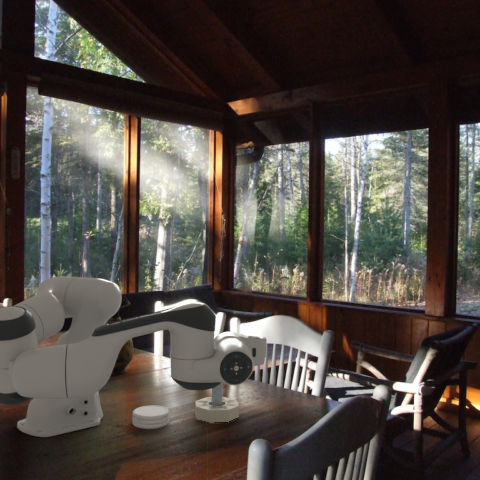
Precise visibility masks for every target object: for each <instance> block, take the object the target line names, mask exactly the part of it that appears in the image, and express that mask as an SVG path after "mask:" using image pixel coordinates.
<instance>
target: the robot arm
mask: <svg viewBox="0 0 480 480" xmlns="http://www.w3.org/2000/svg"><path fill="white" fill-rule="evenodd" d="M122 296H123V295H122V291H121V289H120V287H119V286H118V285H117V283H116V282H114V281H110V280H108V279H105V278H104V279H103V278H100V277H99V278H98V277H87V276H86V277H83V276H69V275H68V276H66V275H62V276H54V277H50V278H45V279H44V280H43V281H42V282H40V284H39V286H38V288H37V291H36V294H35V295H34V296H33V295H32V296H31V297H29V298H27V299H24V300H23V301H21V302H19V303H16V304H14V305H10V306H9V305H7V306H2V307H0V404H2V405H5V406H18V405H22V404H24V403H26V402H29V401H30V402H29V404H28V406H27V411H26V417H25V418H23V419H21V420H18V421H17V425H16V429H18V430H19V431H21V432H22V433H24V434H27V435H29V436H32V437H33V436H34V437H39V438H49V437H54V436H58V435H62V434H67V433H71V432H74V431H75V432H76V431H79V430H83V429H84V430H85V429H87V428H91V427H96V426H99V425H100V424H101V420H102V419H103V417H104V413H103V409H102V404H101V400H100V390H101V389H102V388H103V387H104V386H105V385H106V384H107V382H109V380H110V378H111V376H112V375H111V373H112V371H113V368H114V365H115V362H116V360H117V357H118V354H119V352H120V350H121V348H122V347H123V345H124V344H125V343H126V342H127V341H128V340H130V339H131V338H132V339H133V338H137V337H139V336H144V335H150V334H154V333H157V332H162V331H166V330H168V332H169V334H170V343H169V344H170V377H171V378H172V380H173V382H175V383H176V384H177V385H179V386H180V387H182V388H183V389H186V390H189V391H206V390H212V388H215V387H216V386H218V385H220V384H221V383H223V384H224V385H228V386H238V385H241V384H244V383H245V382H246V381H247V380H248V379H250V377H251V375H252V374H253V371H254V368H255V366H264V365H265V361H266V357H267V337H265V336H256V335H255V336H254V335H245V334H243V333H236V332H235V331H224V332H222V333H219V334H217V336H215V331H216V320H217V315H216V314H215V313H214V311H213V310H212V309H211V308H210V306H209V305H207V304H206V303H205V302H199V301H190V302H189V301H188V302H185V303H182V304H179V305H176V306H173V307H170V308H166V309H162V310H158V311H154V312H148V313H145V314H140V315H135V316H133V317H127V318H123V319H121V320H119V321H115V322H111V323H108V324H106V322H107V321H108V320H109V319H110V318H111V317H112V316H113V315H115V314H116V312H117V311H118V310H119V308H120V305H121V301H122ZM119 311H120V310H119ZM69 318H72V321H71V324H70V327H69V329H68V330H67V331H65V332H64V333H62V334H61V335H60V336H59V337H58V339H57V342H56V344H55V345H49V346H43V347H39V344H40V343H42V342H44V341H45V340H47V339H49V338H51V337H52V336H54V335H57V334H58V333H59V332H60V331H61V330H62V329H63V327H64V324H65V319H69Z"/></svg>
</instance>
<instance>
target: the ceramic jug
mask: <svg viewBox="0 0 480 480" xmlns="http://www.w3.org/2000/svg"><path fill="white" fill-rule="evenodd" d="M127 306H131V302H130V301H129V300H128V298H127V297H126V296H125V295H122V301H121V305H120V308H119V310H118V311H117V312H116V314H115V315H113V316H112V317H111V318H110V319H109V320H108V321H107V322H106V324H108V323H111V322H115V321H119V320H122V318H121V316H120V310H121V309H122V308H125V307H127ZM133 356H134V344H133V338H131V339H130V340H128V341H127V342H126V343H125V344H124V345H123V347H122V348H121V350H120V352H119V354H118V357H117V360H116V362H115V365H114V368H113V371H112V373H111V376H117V375H122V374H124V373H125V370H126V369H127V367H128V365H129V364H130V363H131V361H132V359H133Z"/></svg>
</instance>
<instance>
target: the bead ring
mask: <svg viewBox="0 0 480 480" xmlns="http://www.w3.org/2000/svg"><path fill="white" fill-rule="evenodd" d="M194 405H195V406H194V407H195V408H194V409H195V411H194V413H195V414H194V415H195V420H198V421H201V420H202V422H204V421H206V422H205V423H207V422H209V423H208V424H215V423H214V422H228V423H230V422H229V421H231V420H233V419H235V418H238V417H239V418H240V415H239V414H240V405H239V402H238V400H237V399H234V398H231V397H230V398H229V397H225V396H222V406H212V396H205V397H203V398H200V399H198V400H195V404H194ZM239 418H238V419H239ZM235 420H236V419H235ZM233 421H234V420H233ZM231 422H232V421H231Z"/></svg>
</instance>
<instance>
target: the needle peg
mask: <svg viewBox="0 0 480 480" xmlns="http://www.w3.org/2000/svg"><path fill="white" fill-rule="evenodd" d="M223 384H224V383H221V384H220V385H218V386H216V387H215V388H212V389H211V397H212V406H222V397H223Z"/></svg>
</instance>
